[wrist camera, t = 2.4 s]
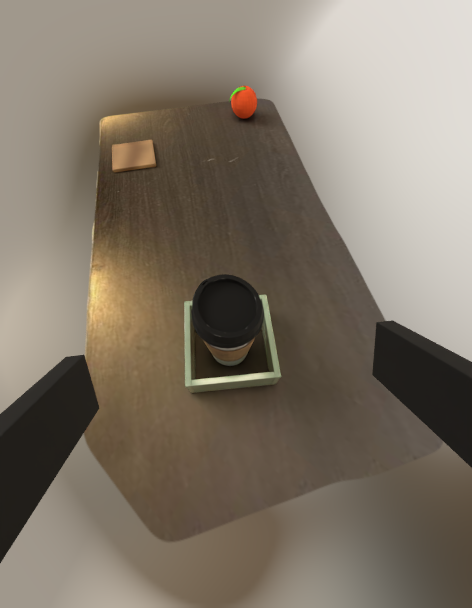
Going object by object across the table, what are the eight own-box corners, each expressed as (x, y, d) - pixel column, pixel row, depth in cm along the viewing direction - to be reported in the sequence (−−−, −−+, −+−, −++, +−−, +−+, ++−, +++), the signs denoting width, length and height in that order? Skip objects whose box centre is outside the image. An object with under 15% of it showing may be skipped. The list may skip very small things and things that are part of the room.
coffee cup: (230, 313, 44) (227, 258, 30) (267, 347, 41) (282, 303, 28) (192, 347, 41) (171, 302, 28) (229, 386, 38) (226, 357, 25)
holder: (190, 393, 38) (184, 386, 33) (189, 315, 44) (184, 301, 39) (275, 384, 38) (281, 376, 34) (263, 309, 44) (266, 294, 40)
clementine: (235, 127, 70) (235, 96, 64) (223, 115, 73) (222, 84, 67) (260, 119, 72) (263, 89, 66) (248, 108, 75) (249, 77, 69)
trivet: (113, 172, 61) (112, 169, 60) (113, 148, 66) (111, 145, 65) (156, 166, 62) (155, 163, 61) (152, 142, 67) (151, 139, 66)
